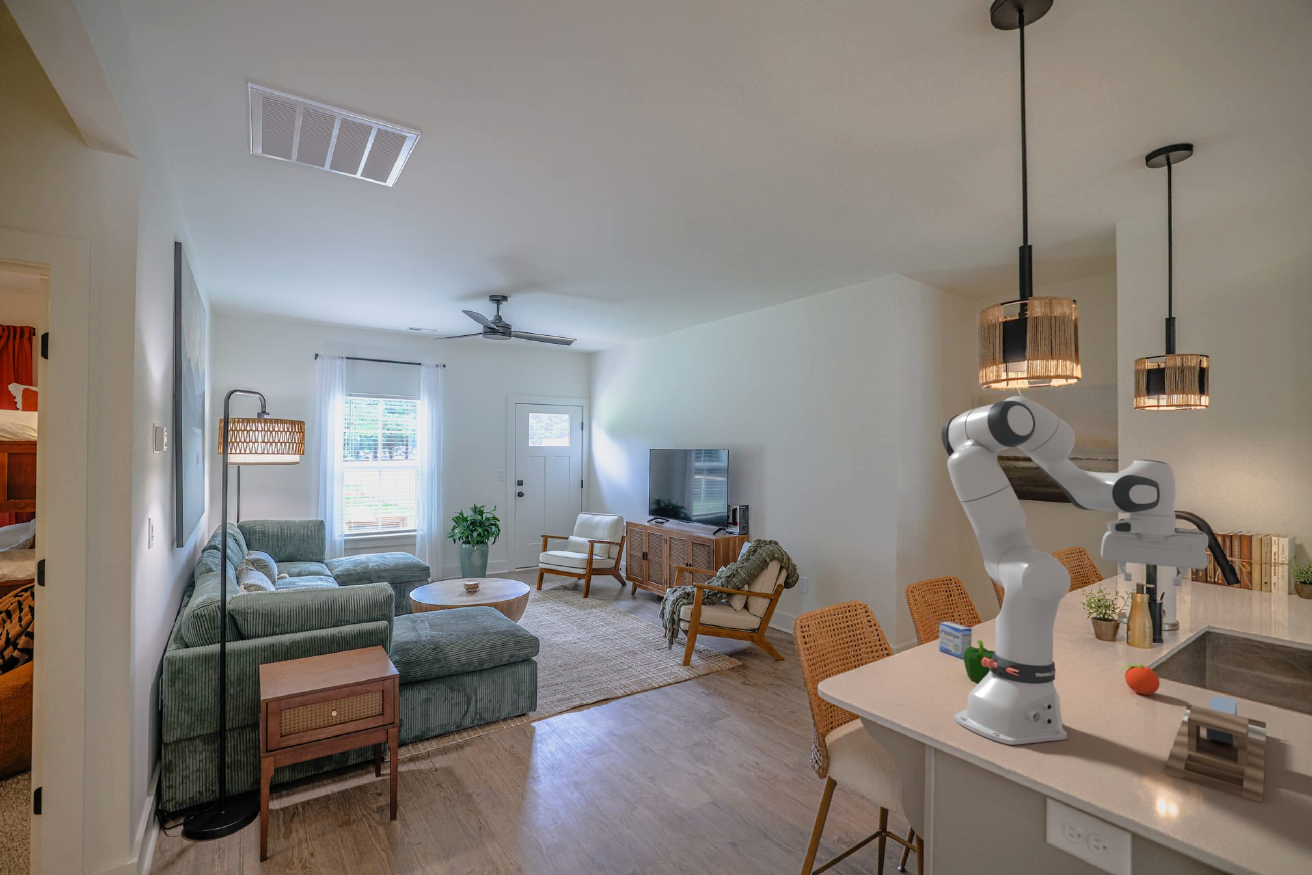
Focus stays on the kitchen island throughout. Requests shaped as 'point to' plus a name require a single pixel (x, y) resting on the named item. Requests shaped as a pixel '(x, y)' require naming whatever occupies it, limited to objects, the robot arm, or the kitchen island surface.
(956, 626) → the medicine box
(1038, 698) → the robot arm
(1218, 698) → the sled block
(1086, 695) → the kitchen island surface
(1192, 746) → the tunnel deck
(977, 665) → the bell pepper
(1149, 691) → the tomato
